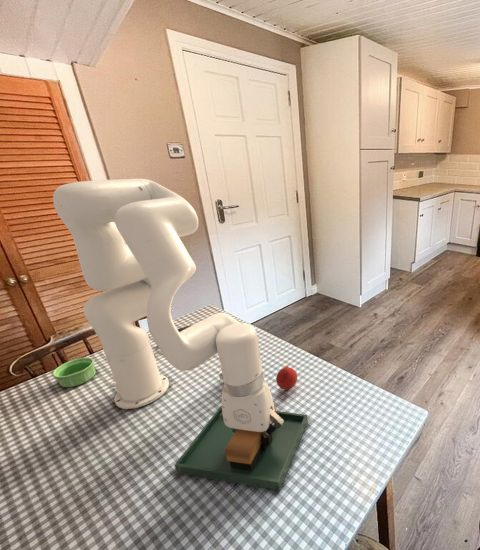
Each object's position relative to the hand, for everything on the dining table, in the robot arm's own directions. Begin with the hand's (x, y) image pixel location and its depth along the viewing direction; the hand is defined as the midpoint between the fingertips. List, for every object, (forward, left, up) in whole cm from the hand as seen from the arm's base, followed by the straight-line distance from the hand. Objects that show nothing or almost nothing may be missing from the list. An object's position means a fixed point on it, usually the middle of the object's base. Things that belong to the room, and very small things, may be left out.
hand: (255, 442), depth 70 cm
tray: (-2, 0, -1) cm, 2 cm away
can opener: (-46, +37, -1) cm, 59 cm away
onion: (0, +19, -1) cm, 19 cm away
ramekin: (-64, +13, -1) cm, 65 cm away
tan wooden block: (0, 0, 0) cm, 0 cm away
